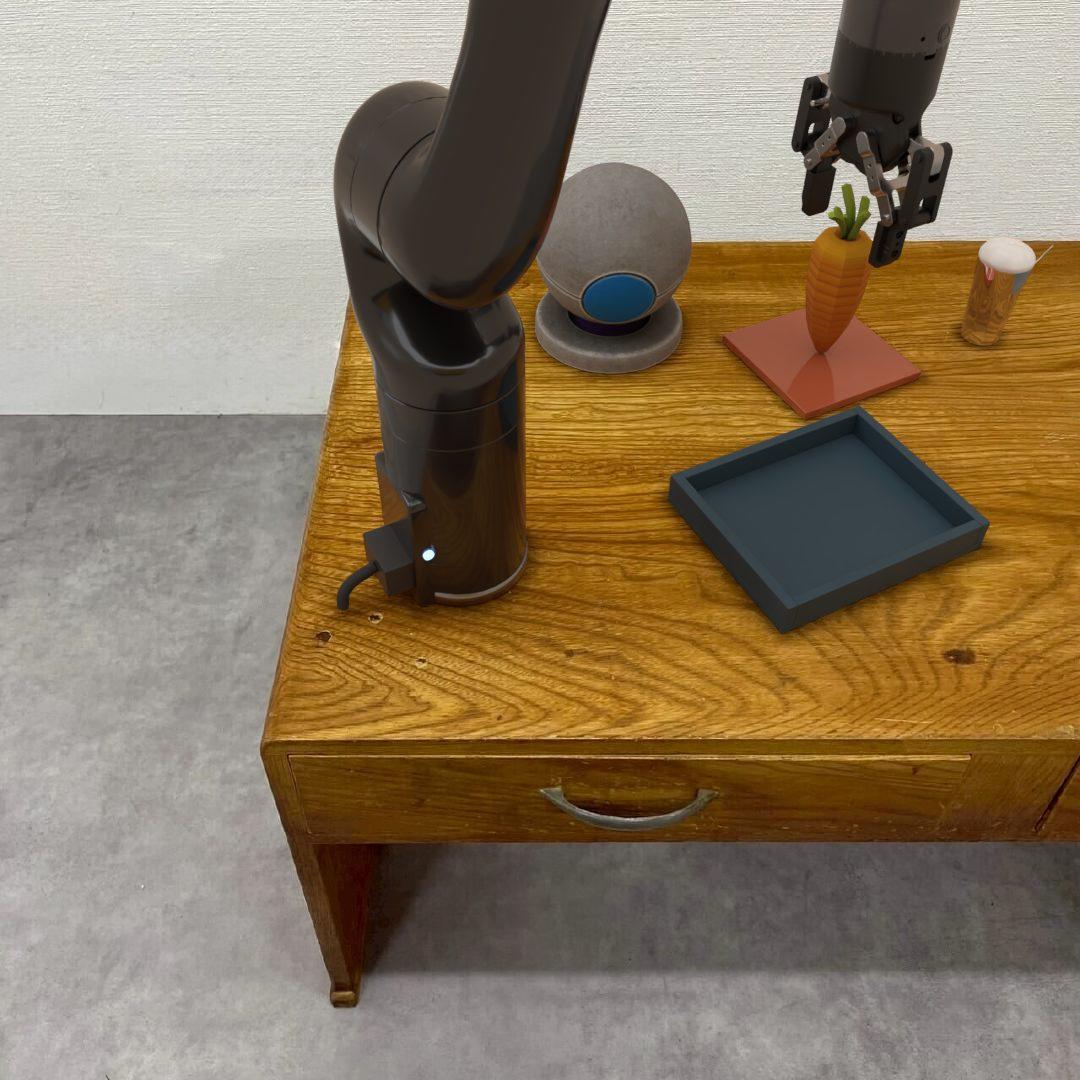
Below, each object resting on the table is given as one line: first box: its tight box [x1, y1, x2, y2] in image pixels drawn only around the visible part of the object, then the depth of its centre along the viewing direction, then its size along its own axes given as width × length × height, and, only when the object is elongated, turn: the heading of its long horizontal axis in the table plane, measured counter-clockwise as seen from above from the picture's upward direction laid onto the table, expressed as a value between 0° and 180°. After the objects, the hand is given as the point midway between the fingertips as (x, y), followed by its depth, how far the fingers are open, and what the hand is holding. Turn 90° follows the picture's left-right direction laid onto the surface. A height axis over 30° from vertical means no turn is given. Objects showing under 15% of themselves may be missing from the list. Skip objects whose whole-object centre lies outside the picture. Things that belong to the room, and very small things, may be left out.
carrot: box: [804, 182, 873, 354], centre depth 90 cm, size 5×5×15 cm
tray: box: [667, 405, 991, 635], centre depth 82 cm, size 18×15×3 cm
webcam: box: [534, 162, 693, 375], centre depth 94 cm, size 13×13×15 cm
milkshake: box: [960, 236, 1054, 347], centre depth 95 cm, size 4×5×10 cm
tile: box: [721, 307, 922, 421], centre depth 96 cm, size 12×12×1 cm
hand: (846, 237), depth 88 cm, fingers open, 8 cm apart
